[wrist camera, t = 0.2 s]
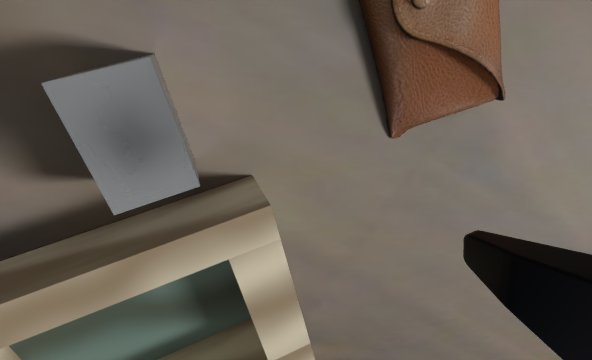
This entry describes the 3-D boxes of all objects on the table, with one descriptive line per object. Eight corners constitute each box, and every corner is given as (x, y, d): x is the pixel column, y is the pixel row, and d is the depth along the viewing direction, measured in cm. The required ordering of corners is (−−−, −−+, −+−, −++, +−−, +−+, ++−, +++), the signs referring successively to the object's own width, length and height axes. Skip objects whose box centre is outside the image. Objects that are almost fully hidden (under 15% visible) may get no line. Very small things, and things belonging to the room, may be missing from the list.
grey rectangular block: (194, 157, 20) (200, 186, 16) (126, 179, 19) (114, 215, 15) (154, 53, 17) (149, 56, 13) (72, 73, 16) (40, 83, 12)
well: (295, 317, 27) (316, 363, 23) (33, 436, 23) (4, 517, 19) (252, 175, 21) (270, 205, 17) (-115, 300, 17) (-202, 378, 13)
